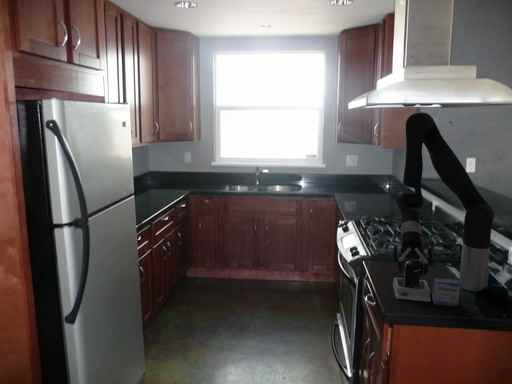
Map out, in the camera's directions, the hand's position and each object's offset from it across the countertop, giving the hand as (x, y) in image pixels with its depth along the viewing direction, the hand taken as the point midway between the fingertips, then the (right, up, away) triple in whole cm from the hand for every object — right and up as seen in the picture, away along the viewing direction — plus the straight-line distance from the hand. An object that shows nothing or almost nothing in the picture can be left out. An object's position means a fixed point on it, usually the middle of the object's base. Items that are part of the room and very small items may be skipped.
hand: (413, 273), depth 153 cm
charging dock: (0, -8, +3) cm, 8 cm away
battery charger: (+1, -7, +3) cm, 8 cm away
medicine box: (+9, -10, -6) cm, 15 cm away
